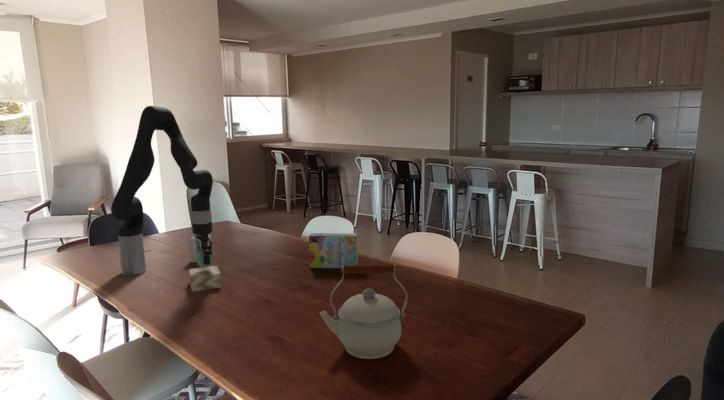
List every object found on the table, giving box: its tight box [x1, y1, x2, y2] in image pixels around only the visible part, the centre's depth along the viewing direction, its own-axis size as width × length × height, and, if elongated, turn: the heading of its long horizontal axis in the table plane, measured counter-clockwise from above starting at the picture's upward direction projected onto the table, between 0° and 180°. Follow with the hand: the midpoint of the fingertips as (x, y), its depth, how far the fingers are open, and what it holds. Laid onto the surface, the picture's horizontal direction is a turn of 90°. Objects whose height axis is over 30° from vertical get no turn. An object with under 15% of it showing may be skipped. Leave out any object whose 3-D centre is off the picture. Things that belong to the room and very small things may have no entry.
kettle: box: [319, 263, 409, 360], centre depth 130 cm, size 25×18×25 cm
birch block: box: [188, 265, 222, 293], centre depth 184 cm, size 11×11×6 cm
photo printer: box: [188, 234, 212, 263], centre depth 216 cm, size 10×4×12 cm, turn 134°
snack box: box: [308, 232, 359, 269], centre depth 204 cm, size 21×6×15 cm, turn 84°
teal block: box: [196, 249, 214, 268], centre depth 183 cm, size 5×5×6 cm
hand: (205, 262), depth 183 cm, fingers closed on teal block, 5 cm apart
